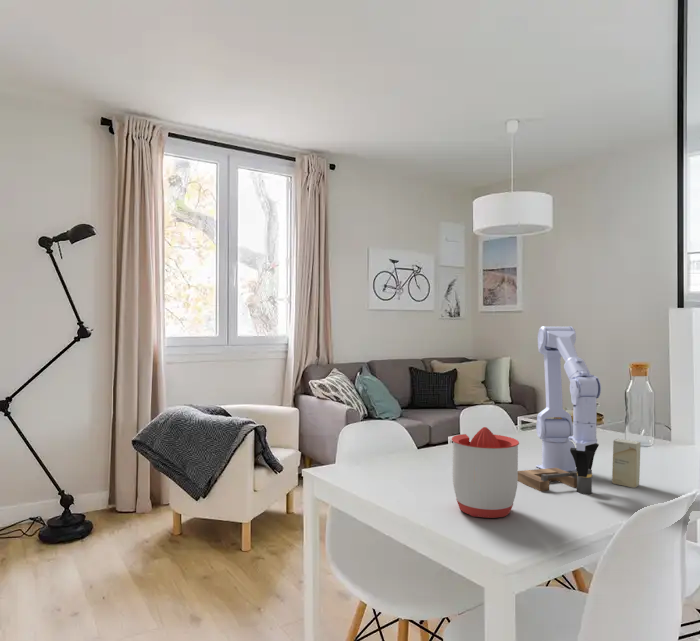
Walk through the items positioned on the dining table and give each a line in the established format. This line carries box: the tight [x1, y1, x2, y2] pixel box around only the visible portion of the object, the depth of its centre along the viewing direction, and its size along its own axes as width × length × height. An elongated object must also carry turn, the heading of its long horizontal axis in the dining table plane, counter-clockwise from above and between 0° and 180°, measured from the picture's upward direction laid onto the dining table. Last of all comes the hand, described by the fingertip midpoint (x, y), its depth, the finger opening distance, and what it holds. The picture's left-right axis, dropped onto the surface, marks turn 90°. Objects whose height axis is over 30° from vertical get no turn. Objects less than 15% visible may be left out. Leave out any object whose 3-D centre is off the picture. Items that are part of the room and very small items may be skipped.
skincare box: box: [611, 438, 642, 489], centre depth 154 cm, size 6×4×12 cm
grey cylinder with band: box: [576, 468, 593, 495], centre depth 147 cm, size 4×4×6 cm
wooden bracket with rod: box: [517, 468, 577, 492], centre depth 154 cm, size 14×11×4 cm
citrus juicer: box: [451, 426, 520, 519], centre depth 132 cm, size 16×17×20 cm
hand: (584, 473), depth 147 cm, fingers open, 7 cm apart
